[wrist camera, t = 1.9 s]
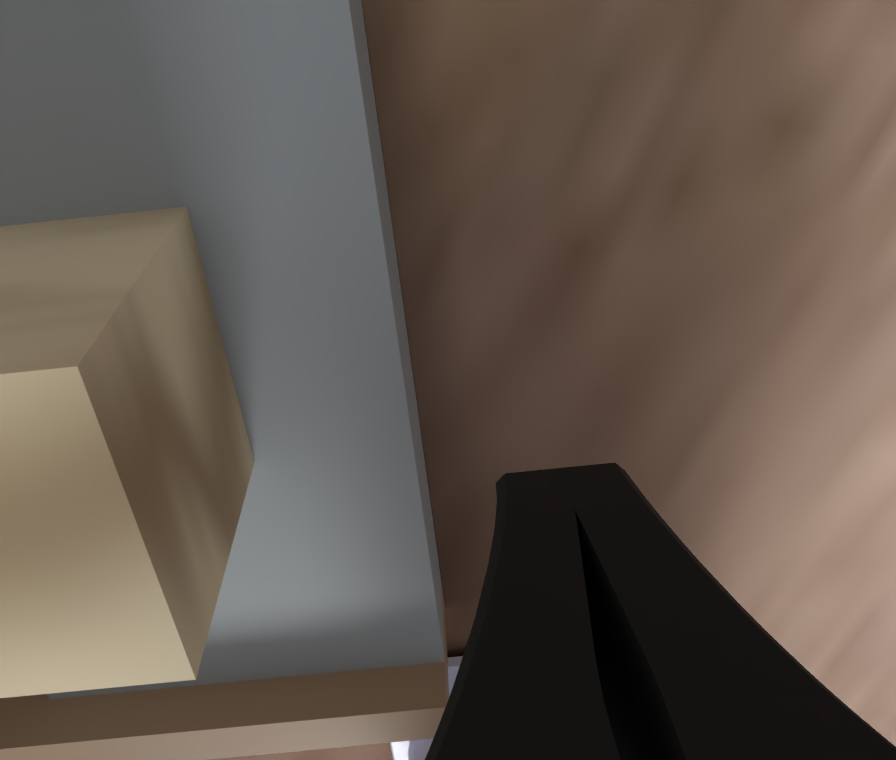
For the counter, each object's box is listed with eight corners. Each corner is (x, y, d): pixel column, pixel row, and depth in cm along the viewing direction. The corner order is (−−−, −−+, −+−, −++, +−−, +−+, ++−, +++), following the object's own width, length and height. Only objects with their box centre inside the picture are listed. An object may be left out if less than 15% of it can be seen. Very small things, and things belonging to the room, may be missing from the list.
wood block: (254, 461, 16) (195, 679, 11) (-7, 487, 16) (-162, 714, 12) (186, 206, 13) (77, 365, 9) (-126, 239, 13) (-383, 413, 9)
